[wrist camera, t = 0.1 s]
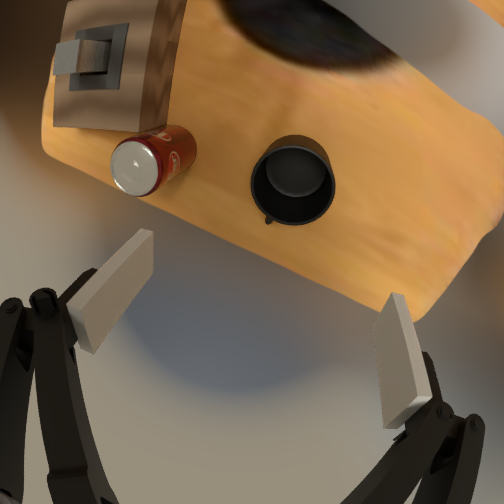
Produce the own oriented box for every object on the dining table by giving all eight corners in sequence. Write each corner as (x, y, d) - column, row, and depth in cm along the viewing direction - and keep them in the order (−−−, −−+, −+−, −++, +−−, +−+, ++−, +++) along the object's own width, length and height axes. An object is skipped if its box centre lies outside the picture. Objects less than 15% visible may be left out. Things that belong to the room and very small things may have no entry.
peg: (95, 45, 28) (56, 43, 22) (118, 43, 28) (80, 39, 21) (91, 72, 30) (52, 75, 24) (114, 71, 30) (75, 72, 24)
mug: (242, 193, 43) (226, 218, 35) (282, 121, 37) (275, 128, 29) (298, 224, 44) (295, 256, 36) (343, 157, 38) (352, 174, 30)
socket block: (99, 8, 30) (66, 2, 23) (187, -2, 29) (161, -18, 22) (85, 118, 40) (51, 127, 33) (166, 124, 39) (137, 132, 32)
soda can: (145, 139, 41) (98, 158, 31) (183, 115, 38) (140, 126, 28) (168, 179, 44) (127, 208, 34) (206, 157, 41) (171, 182, 31)
